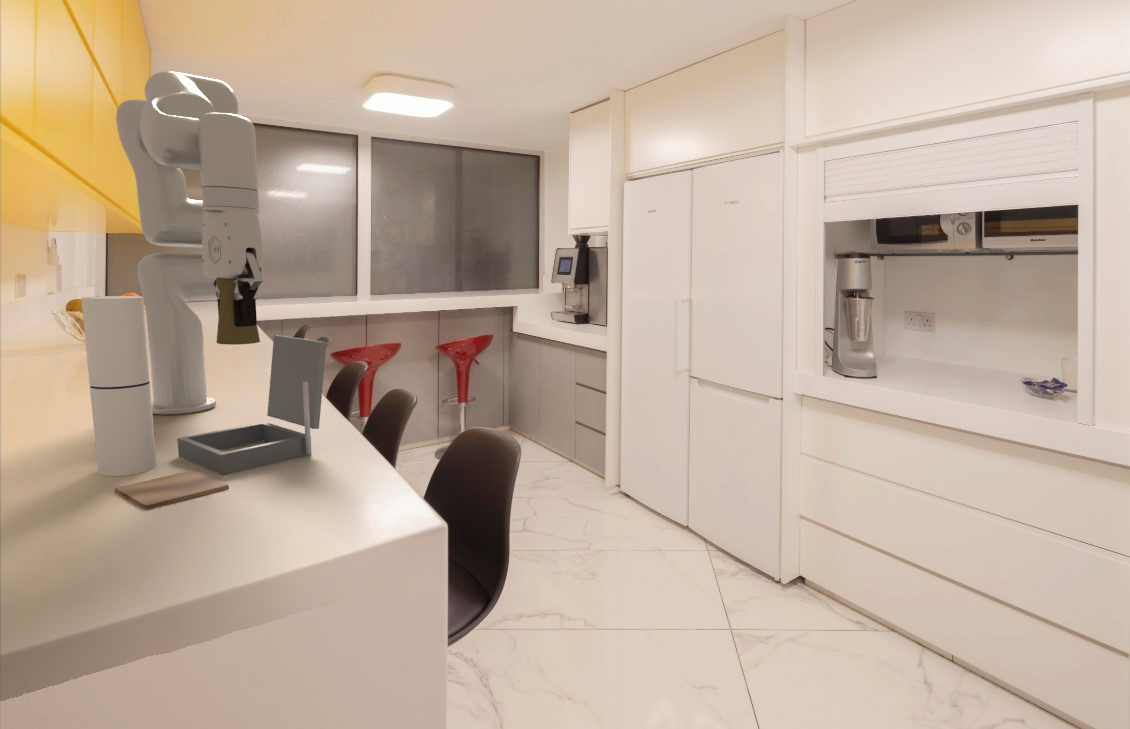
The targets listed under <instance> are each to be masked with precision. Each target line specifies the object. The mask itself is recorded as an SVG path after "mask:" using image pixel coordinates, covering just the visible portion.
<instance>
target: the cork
mask: <svg viewBox="0 0 1130 729" xmlns="http://www.w3.org/2000/svg"><path fill="white" fill-rule="evenodd" d="M239 278H249V276H248V274H241V275H239ZM243 284H244V283H241V288H242V286H243ZM216 285H217V288H218V289H219V290H220V292H221V295H220V307H219V316H218V319H217V320H218V321H217V322H218V323H217V332H216V344H219V345H251V344H257V343H261V339H260V335H259V329H258V328H259V327H258V324H256V325H255V326H244V327H236V326H235V325H234V313H233V300H236V298H235V291H234V283H233V279H221V278H216Z"/></svg>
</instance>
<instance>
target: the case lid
mask: <svg viewBox="0 0 1130 729" xmlns="http://www.w3.org/2000/svg"><path fill="white" fill-rule="evenodd" d="M272 341H273V343H272V352H271V353H272V356H271V367H270V380H269V389H268V390H269V392H268V402H267V404H268V405H267V415H266V416H267V417H271V418H274V419H278V420H282V421H285V422H288V423H290V424H291V423H292V424H295V425H298V426H301V427H305V425H304V402H303V382H308V390H309V414H310V429H311V430H317V429H320V421H321V419H320V418H321V407H322V397H323V388H324V387H323V386H324V374H325V366H326V364H325V363H326V362H325V361H326V351H327V341H321V340H312V339H306V338H300V337H291V336H287V335H286V336H285V335H280V334H279V335H278V334H274V335H273V340H272Z"/></svg>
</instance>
